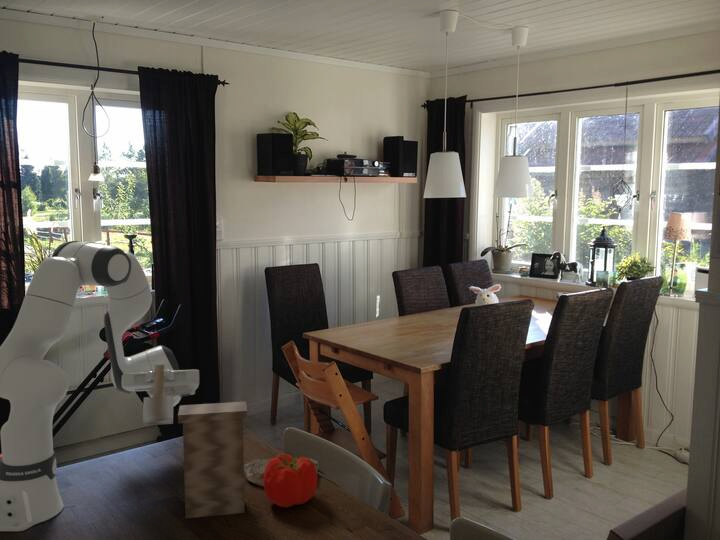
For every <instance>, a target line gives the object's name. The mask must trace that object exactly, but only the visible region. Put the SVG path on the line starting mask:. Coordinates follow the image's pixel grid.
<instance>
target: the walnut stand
mask: <svg viewBox="0 0 720 540" xmlns="http://www.w3.org/2000/svg"><path fill="white" fill-rule="evenodd" d="M247 405H248V404H247V401H231V402H229V401H228V402H216V403H201V404H200V403H199V404H184V405H183V404H182V405H179V408H178V413H177V423H178V424H182V436H183V438H182V439H183V440H182V442H183V443H182V444H183V447H182V449H183V471H184V474H183V475H184V476H183V477H184V480H183V481H184V504H185V505H184V507H185V508H184V510H185V519H193V518H202V517H204V518H205V517H215V516H223V515H224V516H225V515H236V514H244V513H246V512H245V509H246V508H245V506H246V505H245V502H246V501H245V472H244V465H245V460H244V458H245V457H244V456H245V455H244V453H245V452H244V447H245V446H244V420H248V407H247Z"/></svg>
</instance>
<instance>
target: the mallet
mask: <svg viewBox="0 0 720 540" xmlns="http://www.w3.org/2000/svg"><path fill="white" fill-rule="evenodd" d="M164 368H165V367H164V365H155V368H154V397H151V396H148V397H147V396H146V397H143V403H142V404H143V405H142V406H143V407H142V411H143V412H142V422H143V425H144V427H147V426H158V425H172V424H174V407H173V397H172V396H164V375H163V374H164Z"/></svg>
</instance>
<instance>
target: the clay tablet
mask: <svg viewBox="0 0 720 540" xmlns="http://www.w3.org/2000/svg"><path fill="white" fill-rule="evenodd" d="M292 458H293V459H294V458H295V457H292ZM271 459H272V458H258V459H254V460H250V461H249V462H247V463H244V474H245V477H246V479H247V481H249V482H251V483H253V484H255V485H258V486H259V487H264V485H263V476H264V472H265V469H266V466H267V464H268V462H269V461H270V460H271ZM297 459H298V458H296V460H297ZM309 459H310V460H311V461H312V462H313V463H314V465H315V467H316V470H317V472H318V470H319V464H320V462H319V461H318V460H316V459H313V458H309Z"/></svg>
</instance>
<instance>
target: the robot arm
mask: <svg viewBox="0 0 720 540" xmlns="http://www.w3.org/2000/svg"><path fill="white" fill-rule="evenodd" d="M83 285H87V286H93V287H94V286H96V287H104V288H105V289H106V293H107V295H108V298H109V308H108V310H107V311H106V313H105V314H104V316H103V323H104V331H105V332H104V333H105V340H106V344H107V351H108V356H109V360H110V377H111V382H112V384H113V386H114V388H115V389H116V390H117V391H119V392H121V393H124V394H128V395H129V394H131V393H133V392H148V394H149V397H154V368H155V365H164V367H165V368H164V374H163V375H164V396H172V397H173V408H174V407H176V405H177V404H179V403H180V401H181V399H182V398H183V397H187V396H192V395H195V394H196V390H197V389H198V388H199V385H200V370H199V369H181V370H180V366H179V363H178V361H177V359H176V356H175V354H174V352H173V351H172V350H171V349H170V348H168V347H166V346H165V345H161V344H160V345H157V346H155V347H152V348H149V349H146V350H145V351H144V350H143V351H142V352H138V353H136V354H133V355H131V356H125V352H124V346H123V341H122V338H123V335H124V334H125V332H126V331H127V330H128V329H130V327H132V326H133V325H134V324H135V323H136V322H138V321H139V320H141V318H143V317H144V316H145V315H146V314H147V312H148V311H149V310H150V308H151V306H152V303H153V294H152V290H151V287H150V284H149V281H148V278H147V275H146V273H145V271H144V269H143V267H142V265H141V264H140V262H139V260H138V259H137V257H136V255H134V254H133V253H132V252H130V251H127V250H123V249H121V248H119V247H117V246H114V245H106V244H102V243H98V242H96V241H78V240H72V241H71V240H69V241H67V242H63V243H61V244H59V245H58V246H57V247H56V248H55V249H54V251H53V253H52V254H51V256H50V257H46V258H45V259H43V260H41V262H40V264H39V266H38V267H37V268H36V271H35V272H34V274H33V275H32V278H31V281H30V282H29V285H28V287H27V290H26V292H25V295H24V297H23V301H22V304H21V307H20V310H19V312H18V315H17V318H16V319H15V322H14V324H13V327H12V328H11V331H10V332H9V333H8V335H7V336H6V338H5V340H4V341H3V342H2V344H1V345H0V398H1V399H5V400H8V401H9V404H10V412H9V416H8V420H7V421H6V422H5V423H4V424H3V425H2V426H1V428H0V447H1V453H0V532H23V531H25V530H27V529H30V528H31V527H33V526H35V525H37V524H40V523H42V522H46V521H48V520H50V519H51V518H53V517H55V516H57V515H58V514H59V513H60V512H61V511H62V510H63V509H64V502H63V500H62V497H61V494H60V491H59V487H58V483H57V478H56V475H57V472H58V471H57V467H58V466H57V458H56V453H55V451H54V443H53V420H54V415H55V410H56V408H57V405H58V404H59V403H60V402H61V401H63V399H64V398H65V396H66V395H67V393H68V390H69V386H70V385H69V383H70V380H69V376H68V374H67V372H66V370H64V368H62V367H60V365H57V364H56V363H54V362H52V361H50V360H47V359H44V358H45V356H46V354H47V353H48V351H49V350H50V348H51V347H52V346H53V345H54V344H56V343H57V342H59V341H60V340H61V339H62V338H63V337H64V336H65V333H66V329H67V327H68V324H69V320H70V317H71V315H72V311H73V308H74V305H75V302H76V299H77V295H78V290H79V289H80V288H81V287H82V286H83Z"/></svg>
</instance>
